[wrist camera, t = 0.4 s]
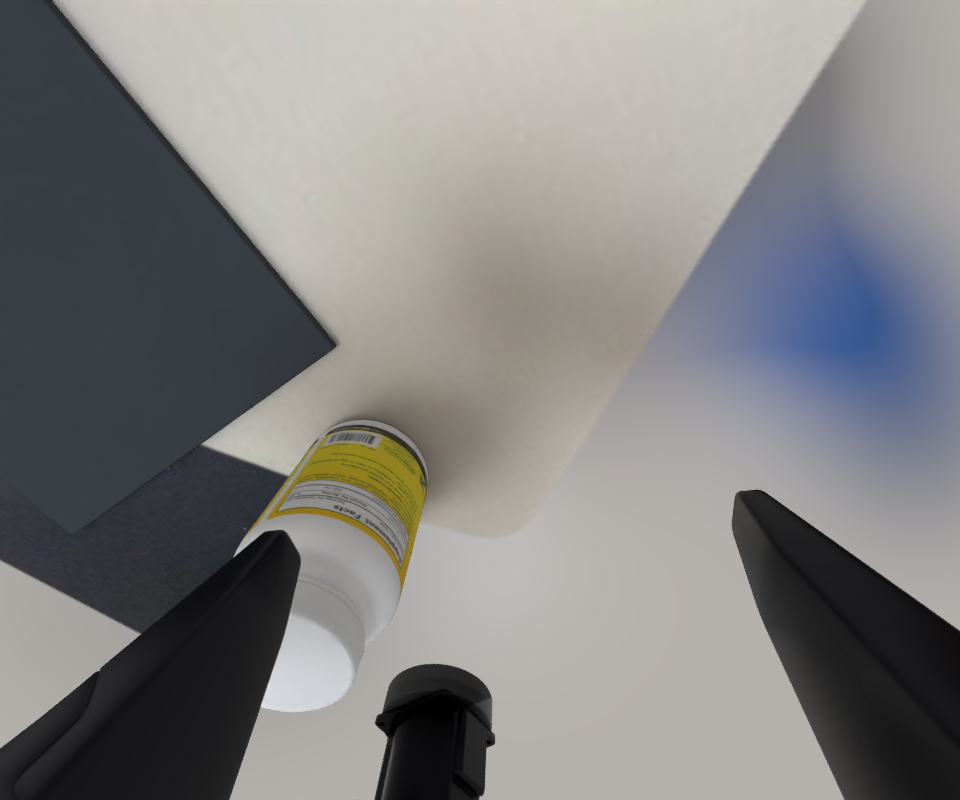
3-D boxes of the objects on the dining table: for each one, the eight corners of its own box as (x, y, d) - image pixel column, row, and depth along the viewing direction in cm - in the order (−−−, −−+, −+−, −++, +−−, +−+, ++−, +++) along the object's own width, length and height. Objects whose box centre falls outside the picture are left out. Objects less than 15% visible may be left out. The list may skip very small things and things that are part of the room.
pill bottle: (363, 534, 27) (275, 750, 17) (286, 452, 25) (133, 641, 15) (455, 485, 25) (418, 691, 15) (380, 393, 23) (279, 558, 13)
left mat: (79, 530, 28) (72, 536, 27) (-295, 224, 21) (-313, 225, 21) (337, 345, 22) (333, 348, 22) (-67, -141, 16) (-83, -151, 15)
